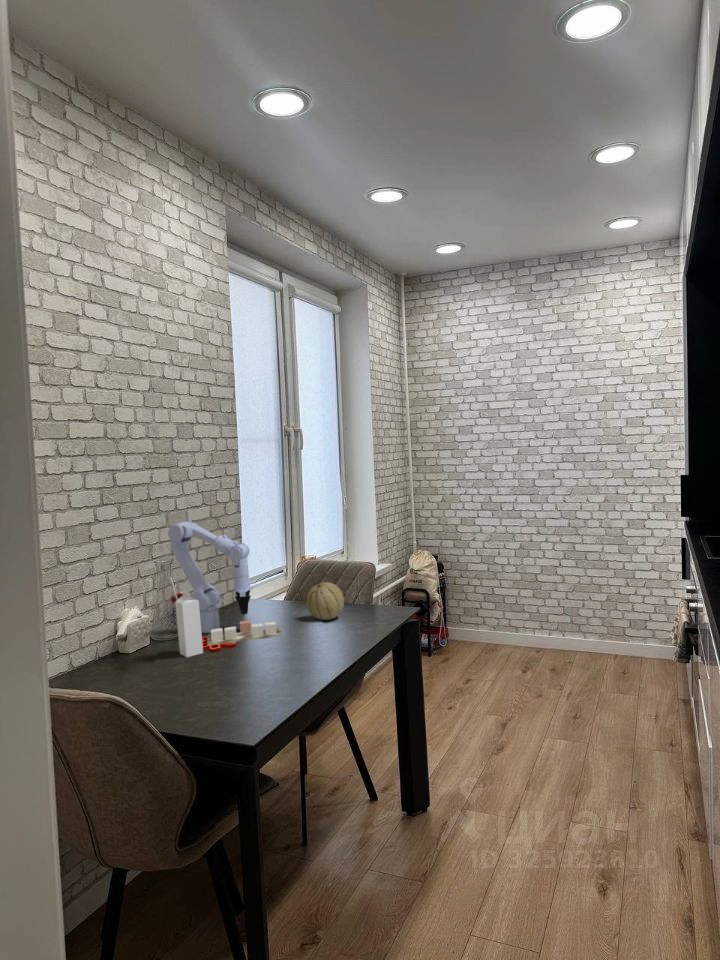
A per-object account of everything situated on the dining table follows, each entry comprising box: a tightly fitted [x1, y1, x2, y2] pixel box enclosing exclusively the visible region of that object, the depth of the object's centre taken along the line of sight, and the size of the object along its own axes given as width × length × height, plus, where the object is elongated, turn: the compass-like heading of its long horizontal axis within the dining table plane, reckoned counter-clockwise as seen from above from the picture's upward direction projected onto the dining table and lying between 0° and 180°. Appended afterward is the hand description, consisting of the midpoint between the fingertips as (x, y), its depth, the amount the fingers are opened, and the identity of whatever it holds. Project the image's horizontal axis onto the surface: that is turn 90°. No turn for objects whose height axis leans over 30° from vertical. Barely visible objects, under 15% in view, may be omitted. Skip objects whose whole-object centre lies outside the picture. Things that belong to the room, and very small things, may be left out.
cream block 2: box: [224, 626, 237, 640], centre depth 243 cm, size 4×4×4 cm
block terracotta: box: [239, 620, 252, 633], centre depth 254 cm, size 4×4×4 cm
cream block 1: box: [210, 627, 224, 641], centre depth 242 cm, size 4×4×4 cm
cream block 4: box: [264, 621, 277, 635], centre depth 246 cm, size 4×4×4 cm
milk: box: [174, 590, 204, 658], centre depth 229 cm, size 6×6×22 cm
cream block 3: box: [251, 622, 264, 636], centre depth 245 cm, size 4×4×4 cm
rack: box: [206, 625, 282, 646], centre depth 244 cm, size 26×8×3 cm, turn 101°
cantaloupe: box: [306, 581, 345, 621], centre depth 264 cm, size 15×15×15 cm
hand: (244, 611), depth 254 cm, fingers open, 7 cm apart
